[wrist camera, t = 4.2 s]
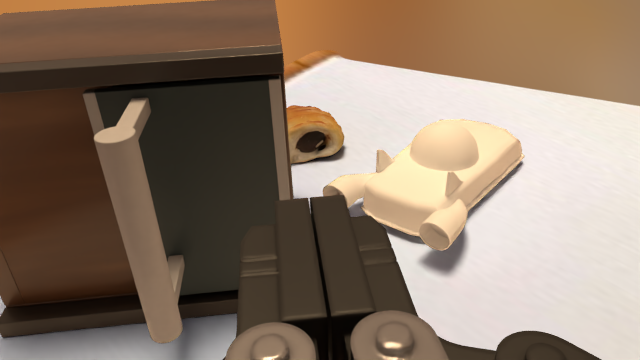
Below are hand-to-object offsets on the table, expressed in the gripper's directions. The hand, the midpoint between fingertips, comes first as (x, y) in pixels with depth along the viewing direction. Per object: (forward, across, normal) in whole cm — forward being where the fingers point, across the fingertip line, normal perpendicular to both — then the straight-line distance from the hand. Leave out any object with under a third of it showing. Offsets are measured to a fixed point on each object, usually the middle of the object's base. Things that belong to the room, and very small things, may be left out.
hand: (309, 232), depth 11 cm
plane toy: (+27, -13, +16) cm, 34 cm away
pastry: (+37, -2, +16) cm, 41 cm away
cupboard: (+22, +9, +16) cm, 29 cm away
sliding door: (+13, +5, +15) cm, 20 cm away
